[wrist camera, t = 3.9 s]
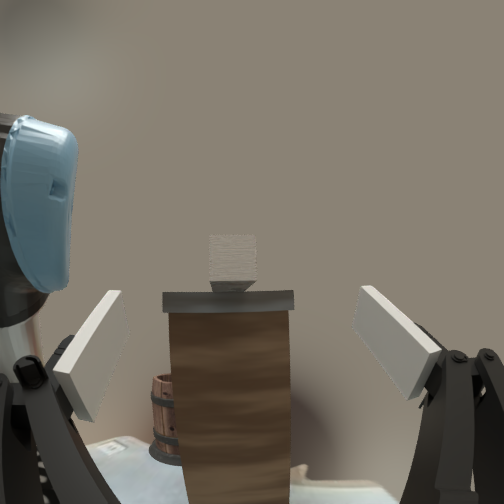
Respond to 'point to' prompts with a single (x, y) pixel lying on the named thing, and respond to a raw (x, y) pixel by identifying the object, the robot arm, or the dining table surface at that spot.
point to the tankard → (164, 422)
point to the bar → (232, 262)
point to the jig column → (232, 394)
